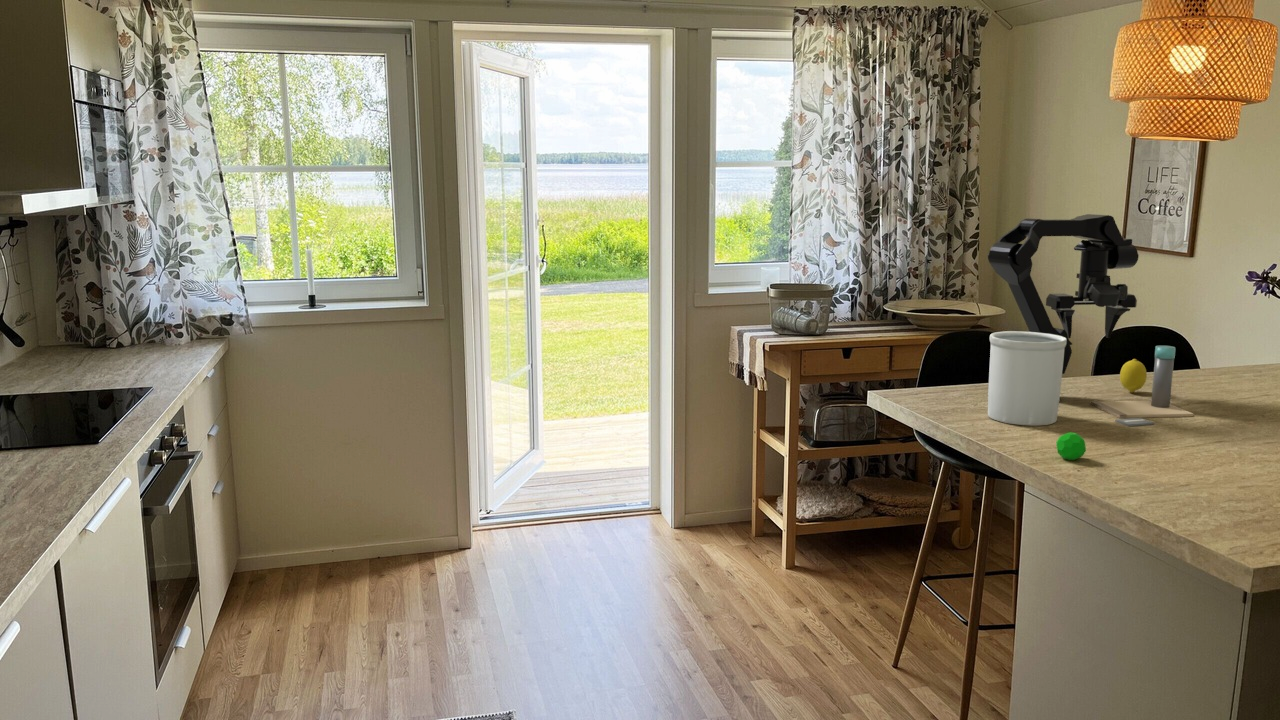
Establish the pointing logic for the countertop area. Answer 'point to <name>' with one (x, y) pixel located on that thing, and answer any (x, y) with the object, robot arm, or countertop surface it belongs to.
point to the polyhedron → (1071, 446)
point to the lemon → (1133, 375)
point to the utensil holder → (1025, 377)
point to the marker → (1162, 376)
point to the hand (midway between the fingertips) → (1088, 337)
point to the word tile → (1134, 421)
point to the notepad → (1139, 409)
